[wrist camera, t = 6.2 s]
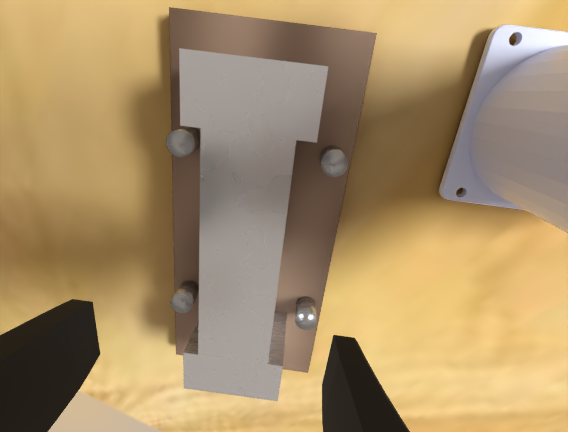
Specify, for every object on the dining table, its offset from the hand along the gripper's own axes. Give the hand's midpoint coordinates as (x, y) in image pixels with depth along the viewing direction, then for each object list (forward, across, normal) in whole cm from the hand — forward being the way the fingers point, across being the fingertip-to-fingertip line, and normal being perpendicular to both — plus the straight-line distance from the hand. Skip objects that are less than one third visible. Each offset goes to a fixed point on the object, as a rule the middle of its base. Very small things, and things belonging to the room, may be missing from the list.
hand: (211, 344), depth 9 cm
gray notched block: (+8, 0, 0) cm, 8 cm away
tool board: (+9, 0, 0) cm, 9 cm away
